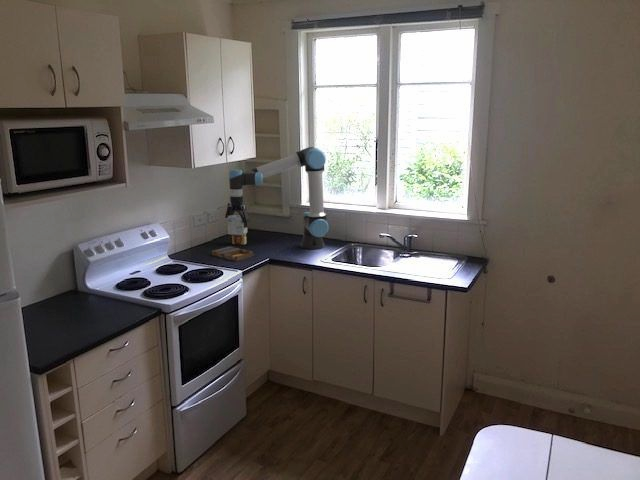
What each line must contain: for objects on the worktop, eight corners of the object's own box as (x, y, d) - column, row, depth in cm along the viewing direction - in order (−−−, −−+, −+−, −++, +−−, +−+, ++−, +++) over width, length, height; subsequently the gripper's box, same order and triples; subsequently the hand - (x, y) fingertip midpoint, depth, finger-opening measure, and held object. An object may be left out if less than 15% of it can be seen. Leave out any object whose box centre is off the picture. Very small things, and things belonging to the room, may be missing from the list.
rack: (255, 256, 340) (255, 252, 339) (235, 261, 329) (235, 257, 328) (230, 249, 355) (230, 245, 354) (211, 254, 343) (211, 250, 343)
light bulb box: (247, 232, 337) (247, 215, 334) (245, 235, 331) (244, 217, 328) (230, 232, 338) (229, 214, 336) (227, 234, 332) (226, 216, 329)
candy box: (246, 243, 371) (246, 220, 367) (244, 244, 367) (243, 222, 363) (234, 242, 373) (233, 220, 369) (231, 244, 369) (231, 221, 365)
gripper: (218, 194, 334) (219, 229, 339) (245, 198, 318) (246, 235, 324) (227, 192, 339) (229, 227, 344) (255, 197, 324) (256, 233, 329)
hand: (237, 231), depth 334 cm, fingers closed on light bulb box, 12 cm apart
